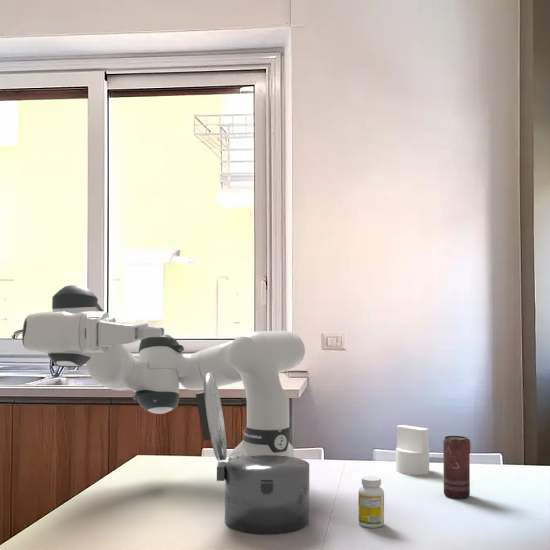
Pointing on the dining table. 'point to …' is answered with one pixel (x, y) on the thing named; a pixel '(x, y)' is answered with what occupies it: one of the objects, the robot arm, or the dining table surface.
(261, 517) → the cooker pot
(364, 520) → the supplement bottle
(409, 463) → the white stacked block
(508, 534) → the dining table surface
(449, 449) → the can
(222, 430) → the cooker lid
